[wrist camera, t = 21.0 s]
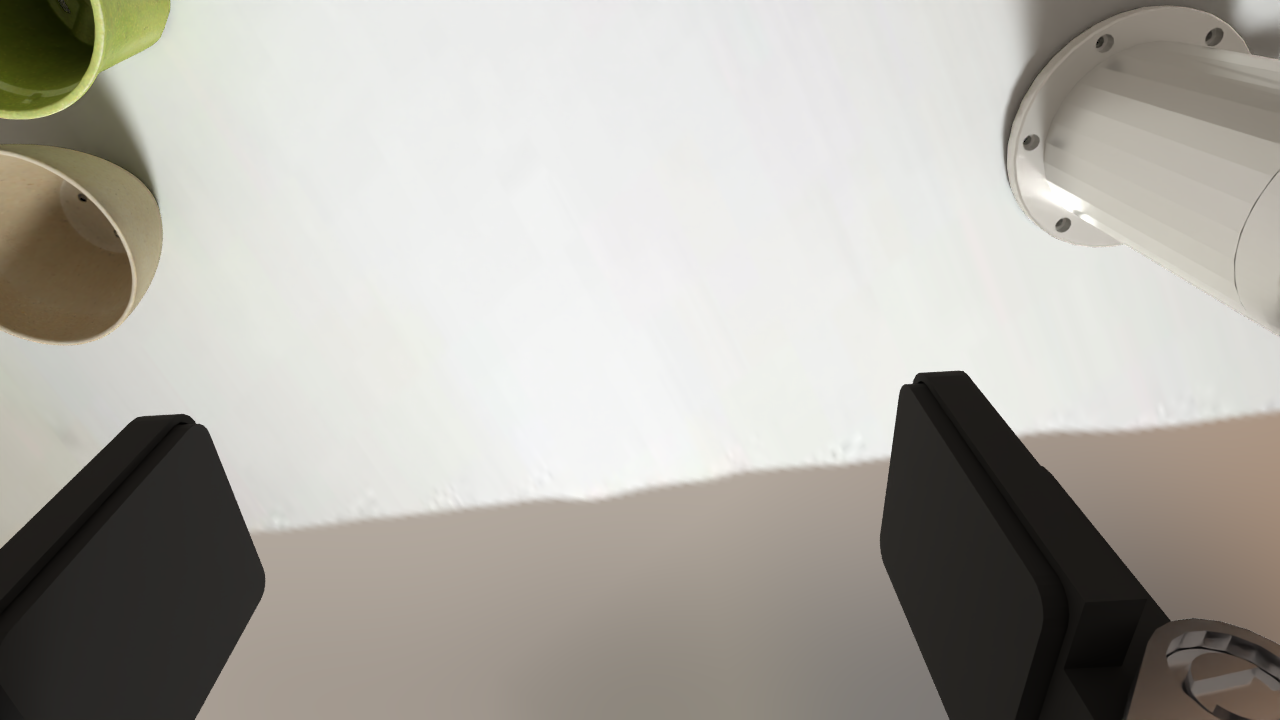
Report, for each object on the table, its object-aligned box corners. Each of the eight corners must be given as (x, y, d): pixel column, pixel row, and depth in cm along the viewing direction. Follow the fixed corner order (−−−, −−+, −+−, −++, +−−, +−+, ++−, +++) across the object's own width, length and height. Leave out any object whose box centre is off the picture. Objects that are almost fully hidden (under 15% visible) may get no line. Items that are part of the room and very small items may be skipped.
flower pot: (7, 91, 39) (-111, 119, 33) (209, 147, 41) (133, 184, 34) (23, 264, 44) (-78, 318, 37) (204, 308, 45) (137, 367, 39)
